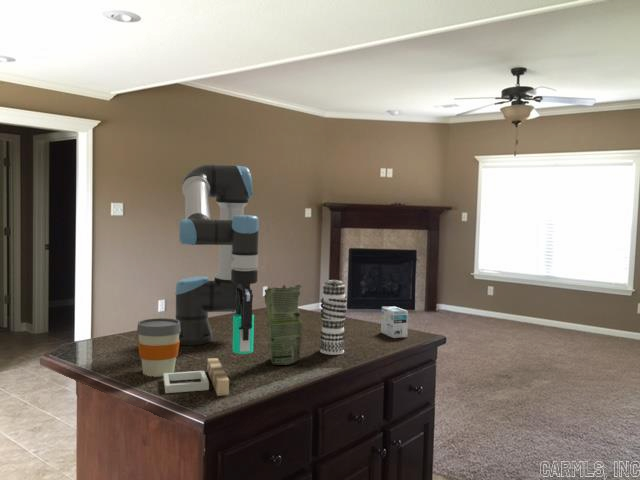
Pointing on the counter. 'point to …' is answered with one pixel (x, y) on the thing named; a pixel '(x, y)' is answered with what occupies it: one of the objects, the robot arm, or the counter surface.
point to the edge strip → (218, 377)
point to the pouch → (283, 324)
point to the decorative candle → (333, 317)
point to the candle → (237, 335)
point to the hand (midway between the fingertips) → (242, 347)
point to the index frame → (185, 386)
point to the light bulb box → (394, 322)
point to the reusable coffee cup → (158, 345)
